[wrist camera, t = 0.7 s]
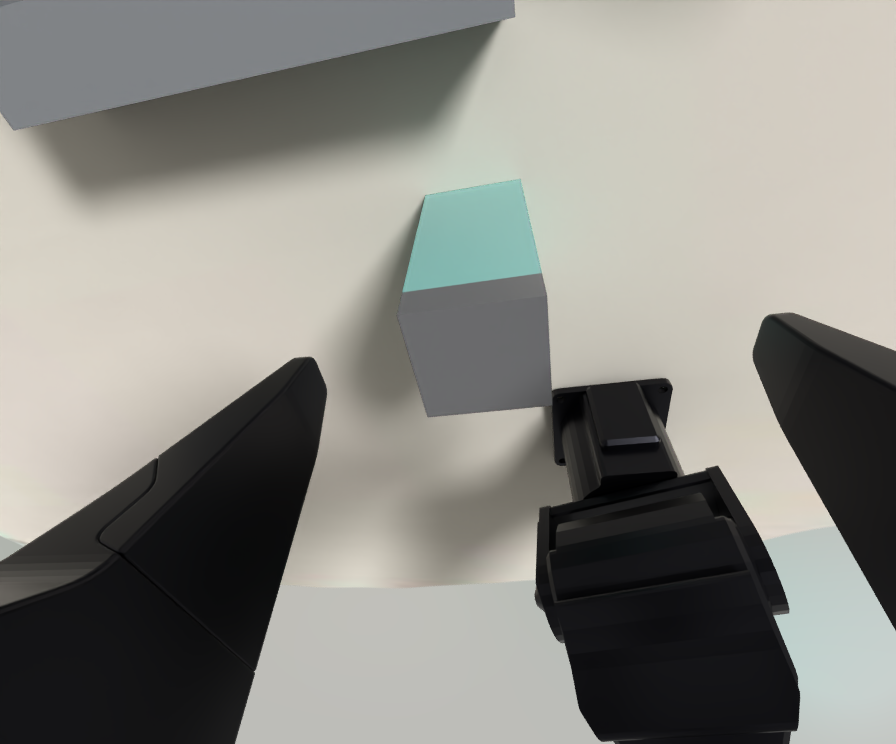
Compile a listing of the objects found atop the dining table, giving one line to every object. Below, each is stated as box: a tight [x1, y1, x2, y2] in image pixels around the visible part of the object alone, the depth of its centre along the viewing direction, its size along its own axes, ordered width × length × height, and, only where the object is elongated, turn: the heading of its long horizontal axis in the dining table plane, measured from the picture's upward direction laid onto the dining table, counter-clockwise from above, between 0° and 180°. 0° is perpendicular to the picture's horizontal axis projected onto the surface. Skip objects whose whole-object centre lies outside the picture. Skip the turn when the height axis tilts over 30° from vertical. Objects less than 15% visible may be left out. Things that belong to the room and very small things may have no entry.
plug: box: [397, 179, 552, 417], centre depth 17 cm, size 4×4×9 cm
